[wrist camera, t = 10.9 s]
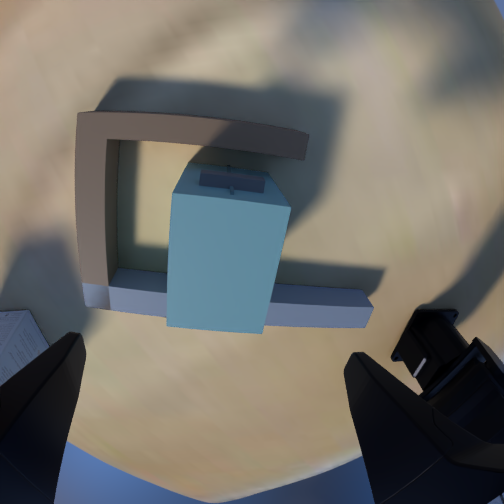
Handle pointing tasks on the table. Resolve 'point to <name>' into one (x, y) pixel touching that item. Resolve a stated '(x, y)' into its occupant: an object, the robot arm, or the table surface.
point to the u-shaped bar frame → (155, 283)
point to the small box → (18, 342)
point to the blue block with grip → (224, 248)
